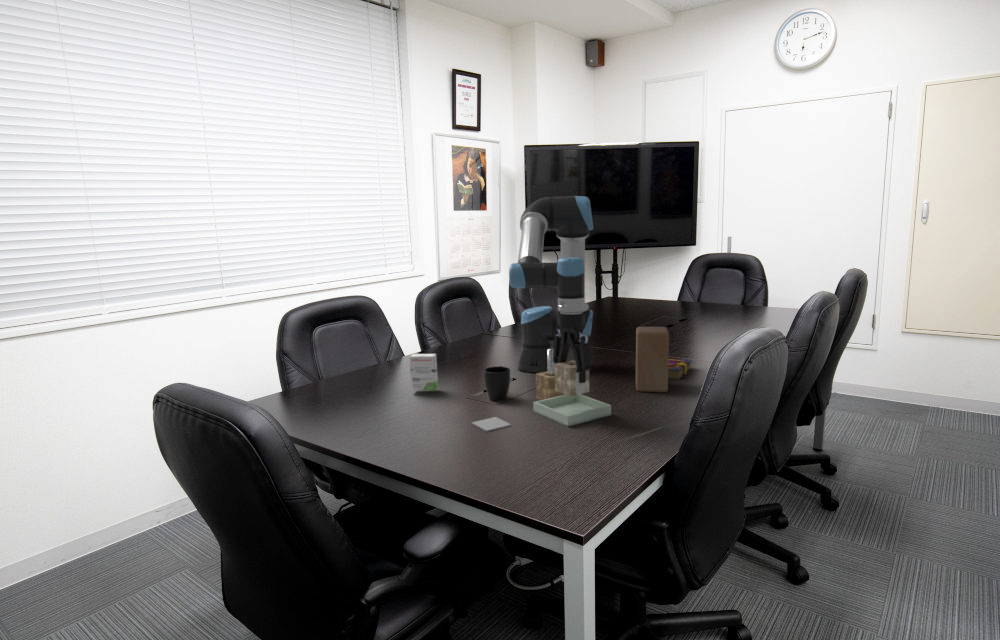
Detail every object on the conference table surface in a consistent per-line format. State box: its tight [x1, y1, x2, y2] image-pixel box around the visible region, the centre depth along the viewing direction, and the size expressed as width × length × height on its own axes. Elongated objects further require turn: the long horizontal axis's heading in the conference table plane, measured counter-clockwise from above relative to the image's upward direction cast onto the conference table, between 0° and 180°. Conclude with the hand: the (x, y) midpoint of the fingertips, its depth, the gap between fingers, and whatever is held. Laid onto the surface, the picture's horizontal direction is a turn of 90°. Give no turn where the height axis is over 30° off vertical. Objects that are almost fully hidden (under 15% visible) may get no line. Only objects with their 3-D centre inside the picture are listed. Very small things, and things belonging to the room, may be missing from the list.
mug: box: [483, 365, 511, 402], centre depth 192 cm, size 8×12×10 cm
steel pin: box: [547, 348, 555, 376], centre depth 187 cm, size 2×2×16 cm
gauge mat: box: [471, 416, 512, 433], centre depth 166 cm, size 8×8×1 cm
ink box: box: [409, 353, 439, 391], centre depth 204 cm, size 9×5×12 cm, turn 85°
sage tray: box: [532, 394, 612, 428], centre depth 174 cm, size 16×16×3 cm
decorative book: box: [668, 357, 692, 380], centre depth 213 cm, size 11×16×5 cm
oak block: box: [535, 371, 566, 401], centre depth 188 cm, size 7×7×8 cm
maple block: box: [555, 359, 590, 396], centre depth 172 cm, size 7×7×8 cm
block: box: [635, 326, 670, 393], centre depth 195 cm, size 10×10×20 cm
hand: (571, 390), depth 173 cm, fingers closed on maple block, 7 cm apart
